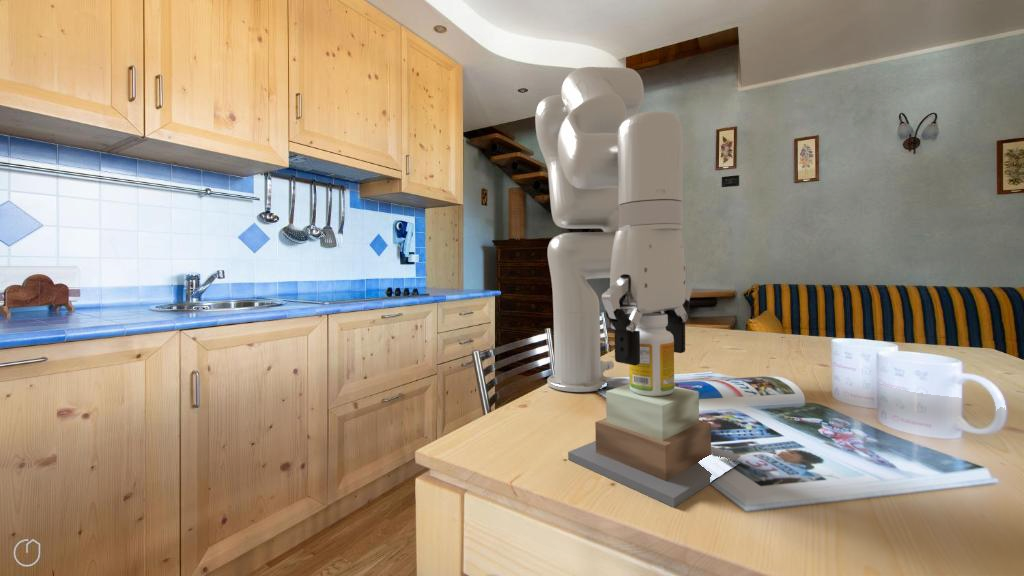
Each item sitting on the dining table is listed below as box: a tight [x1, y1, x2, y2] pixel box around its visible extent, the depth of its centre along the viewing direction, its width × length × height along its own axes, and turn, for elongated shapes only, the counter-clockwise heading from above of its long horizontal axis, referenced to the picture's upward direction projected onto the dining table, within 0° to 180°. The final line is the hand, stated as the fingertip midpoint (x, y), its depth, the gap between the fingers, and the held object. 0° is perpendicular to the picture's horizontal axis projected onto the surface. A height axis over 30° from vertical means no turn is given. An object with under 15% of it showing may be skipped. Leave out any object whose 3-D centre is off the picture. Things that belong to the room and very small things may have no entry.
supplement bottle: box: [628, 312, 675, 396], centre depth 55 cm, size 5×5×10 cm
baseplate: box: [567, 440, 741, 508], centre depth 56 cm, size 15×15×1 cm
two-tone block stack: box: [594, 383, 712, 481], centre depth 55 cm, size 10×10×8 cm
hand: (651, 357), depth 55 cm, fingers open, 9 cm apart
